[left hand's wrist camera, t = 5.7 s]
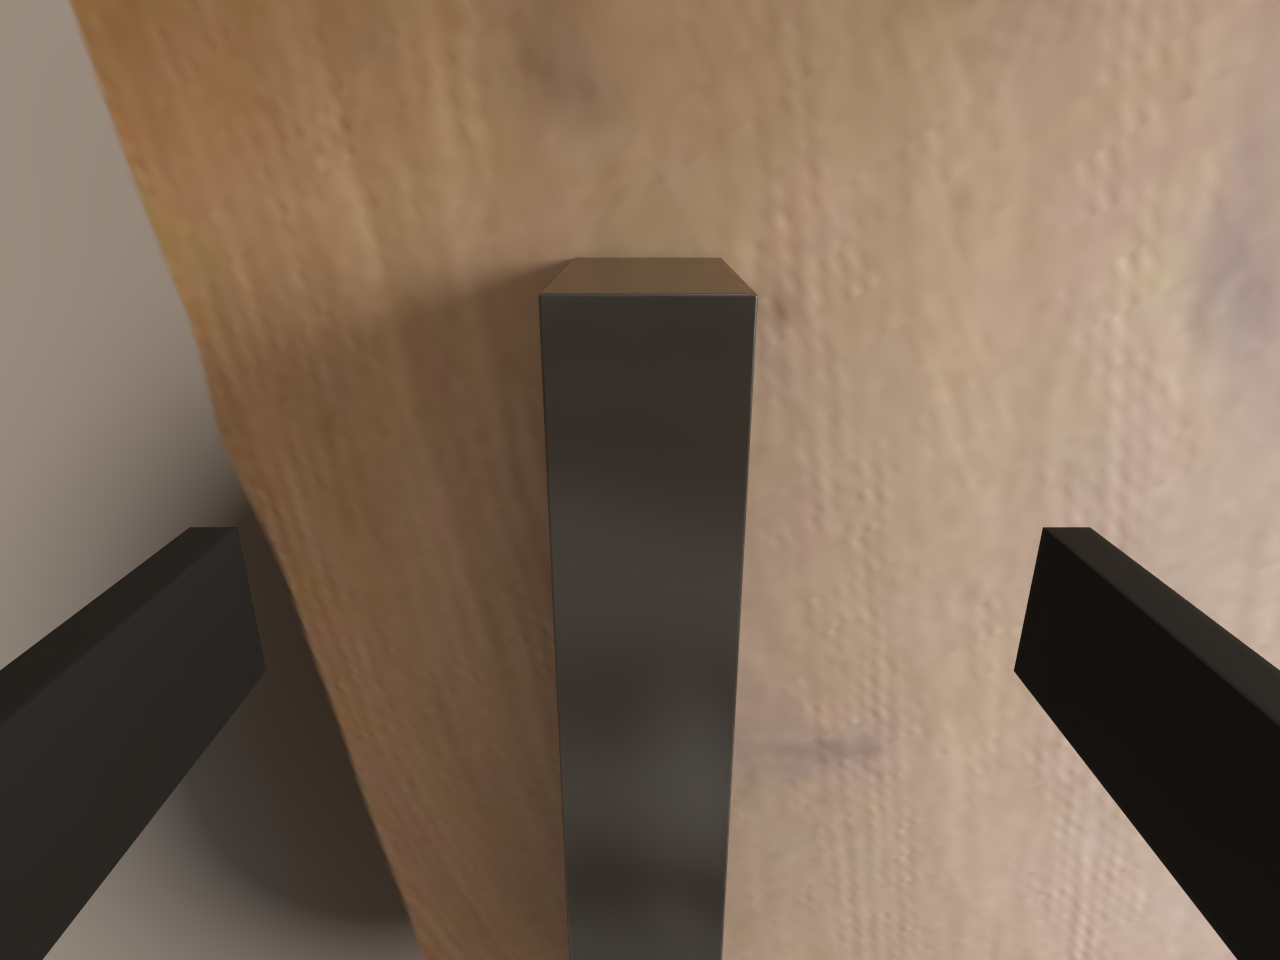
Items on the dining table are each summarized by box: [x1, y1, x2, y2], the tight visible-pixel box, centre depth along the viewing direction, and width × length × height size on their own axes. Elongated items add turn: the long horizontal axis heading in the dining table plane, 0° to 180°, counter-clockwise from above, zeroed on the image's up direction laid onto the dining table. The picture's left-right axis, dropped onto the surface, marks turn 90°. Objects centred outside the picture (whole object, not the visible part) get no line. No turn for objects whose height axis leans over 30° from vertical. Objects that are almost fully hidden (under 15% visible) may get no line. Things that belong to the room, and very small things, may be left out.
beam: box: [539, 258, 758, 960], centre depth 28 cm, size 34×5×9 cm, turn 0°
